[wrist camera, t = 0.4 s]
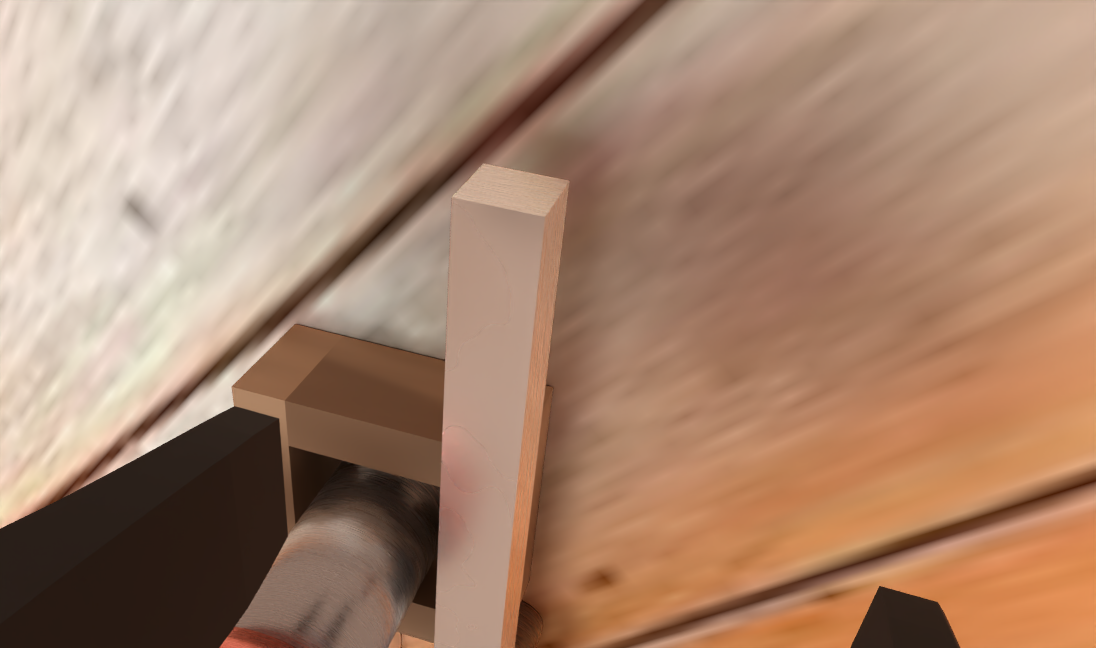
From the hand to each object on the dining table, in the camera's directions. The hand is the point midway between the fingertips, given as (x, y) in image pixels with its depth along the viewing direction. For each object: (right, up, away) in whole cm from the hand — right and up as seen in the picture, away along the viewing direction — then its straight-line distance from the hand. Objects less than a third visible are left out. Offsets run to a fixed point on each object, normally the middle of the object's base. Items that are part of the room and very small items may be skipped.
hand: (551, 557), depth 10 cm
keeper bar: (-1, -2, +10) cm, 10 cm away
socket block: (-4, -1, +14) cm, 15 cm away
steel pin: (-4, -1, +14) cm, 15 cm away
